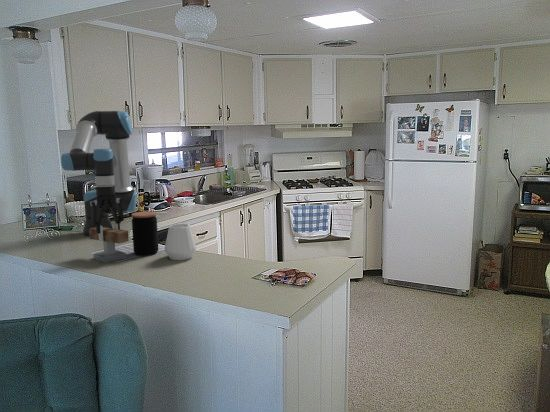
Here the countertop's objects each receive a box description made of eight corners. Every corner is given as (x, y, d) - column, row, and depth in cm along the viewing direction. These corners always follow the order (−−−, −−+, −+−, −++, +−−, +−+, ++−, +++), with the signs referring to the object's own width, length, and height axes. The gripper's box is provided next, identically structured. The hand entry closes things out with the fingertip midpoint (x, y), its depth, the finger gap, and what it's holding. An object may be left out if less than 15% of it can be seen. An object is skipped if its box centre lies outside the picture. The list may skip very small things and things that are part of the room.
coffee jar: (147, 248, 212) (145, 210, 209) (163, 252, 206) (161, 212, 203) (128, 253, 203) (126, 214, 200) (144, 257, 197) (142, 216, 194)
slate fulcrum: (115, 253, 204) (114, 236, 203) (126, 257, 197) (125, 239, 196) (93, 258, 197) (92, 240, 196) (104, 262, 190) (102, 243, 189)
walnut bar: (89, 238, 198) (89, 228, 197) (99, 236, 202) (98, 226, 201) (119, 243, 189) (118, 233, 188) (128, 241, 193) (127, 230, 193)
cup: (194, 261, 191) (193, 228, 189) (162, 261, 191) (160, 229, 188) (197, 252, 205) (196, 222, 202) (167, 253, 204) (166, 222, 201)
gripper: (122, 183, 201) (125, 234, 205) (78, 187, 188) (83, 241, 191) (130, 184, 196) (133, 237, 200) (86, 188, 183) (90, 244, 186)
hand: (108, 239), depth 196 cm, fingers closed on walnut bar, 6 cm apart
